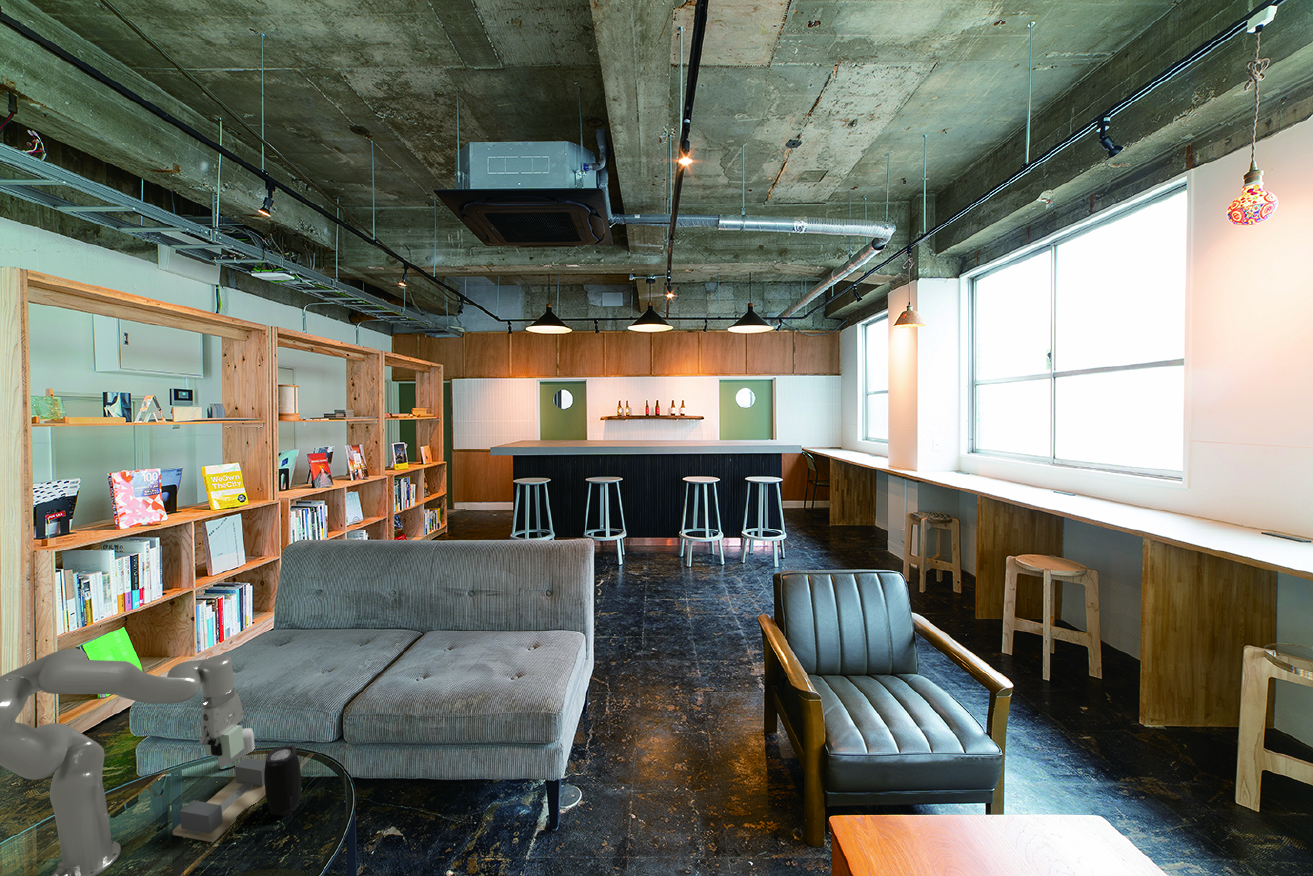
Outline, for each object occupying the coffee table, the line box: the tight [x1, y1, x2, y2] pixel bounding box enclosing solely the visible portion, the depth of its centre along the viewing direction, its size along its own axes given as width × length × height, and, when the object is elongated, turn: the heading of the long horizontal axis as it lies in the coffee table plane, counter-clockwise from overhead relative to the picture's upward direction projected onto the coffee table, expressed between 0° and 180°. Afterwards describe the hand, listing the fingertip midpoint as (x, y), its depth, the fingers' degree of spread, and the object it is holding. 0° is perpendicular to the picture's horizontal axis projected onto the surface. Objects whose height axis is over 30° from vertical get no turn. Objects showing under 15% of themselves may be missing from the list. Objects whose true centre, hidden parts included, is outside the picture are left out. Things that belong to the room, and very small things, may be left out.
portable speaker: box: [264, 745, 302, 817], centre depth 171 cm, size 9×9×20 cm
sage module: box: [204, 724, 244, 759], centre depth 169 cm, size 4×9×8 cm, turn 81°
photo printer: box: [217, 727, 256, 768], centre depth 189 cm, size 10×4×12 cm, turn 123°
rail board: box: [172, 758, 266, 843], centre depth 172 cm, size 24×14×8 cm, turn 171°
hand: (224, 748), depth 169 cm, fingers closed on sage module, 4 cm apart
